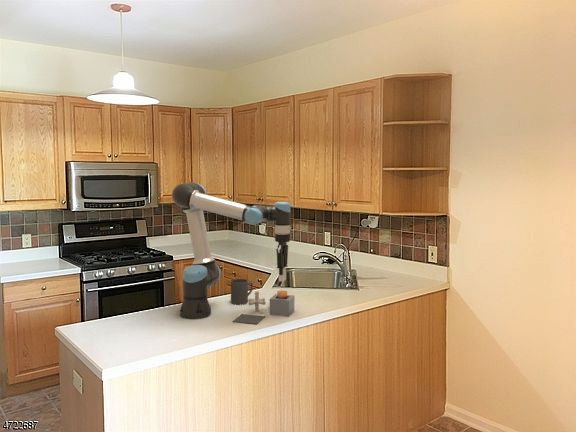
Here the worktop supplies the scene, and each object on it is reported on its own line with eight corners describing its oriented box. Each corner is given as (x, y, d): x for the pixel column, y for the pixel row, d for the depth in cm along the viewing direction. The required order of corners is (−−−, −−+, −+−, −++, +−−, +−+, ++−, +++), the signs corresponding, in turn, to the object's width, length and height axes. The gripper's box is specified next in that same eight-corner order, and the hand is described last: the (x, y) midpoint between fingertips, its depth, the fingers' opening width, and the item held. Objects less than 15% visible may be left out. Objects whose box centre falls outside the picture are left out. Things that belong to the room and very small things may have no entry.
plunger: (275, 297, 243) (275, 292, 242) (278, 294, 247) (278, 290, 247) (285, 298, 241) (285, 293, 241) (288, 295, 246) (288, 290, 246)
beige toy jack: (256, 307, 255) (256, 288, 254) (270, 310, 248) (270, 291, 247) (242, 311, 247) (242, 292, 246) (257, 315, 241) (257, 295, 240)
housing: (269, 314, 242) (269, 298, 241) (275, 309, 251) (275, 293, 250) (289, 316, 239) (289, 300, 238) (294, 310, 249) (294, 295, 248)
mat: (232, 322, 230) (232, 321, 230) (241, 314, 241) (241, 313, 241) (256, 324, 227) (256, 323, 227) (264, 317, 238) (264, 316, 238)
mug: (237, 306, 257) (237, 283, 255) (227, 302, 263) (227, 280, 262) (257, 301, 266) (257, 279, 265) (247, 297, 273) (247, 276, 271)
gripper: (285, 235, 233) (285, 284, 235) (294, 231, 247) (293, 277, 250) (270, 235, 235) (270, 283, 237) (279, 231, 249) (279, 276, 252)
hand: (282, 280), depth 243 cm, fingers open, 2 cm apart
